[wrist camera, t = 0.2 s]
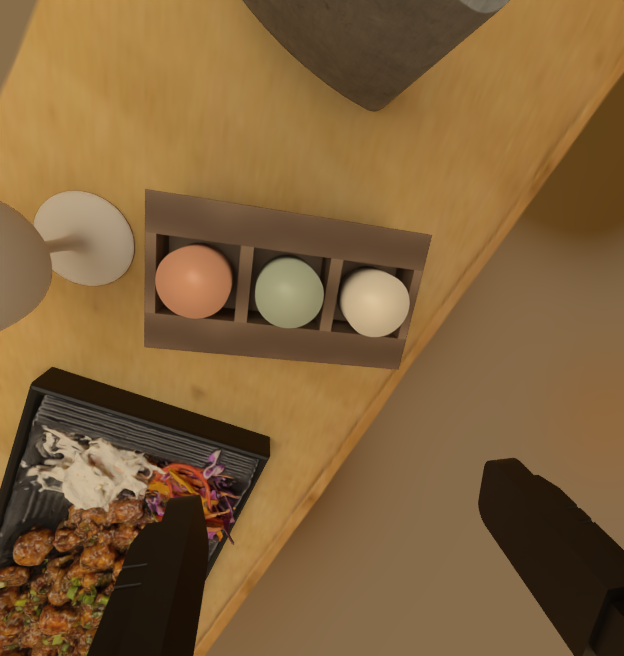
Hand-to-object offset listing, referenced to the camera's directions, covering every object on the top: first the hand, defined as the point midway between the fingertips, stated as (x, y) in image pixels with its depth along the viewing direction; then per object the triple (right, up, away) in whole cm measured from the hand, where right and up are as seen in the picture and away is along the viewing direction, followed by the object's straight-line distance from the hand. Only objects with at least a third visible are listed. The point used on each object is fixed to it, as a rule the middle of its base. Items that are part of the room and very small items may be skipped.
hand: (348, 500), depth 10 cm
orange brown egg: (-9, +9, +17) cm, 21 cm away
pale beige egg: (+3, +8, +19) cm, 21 cm away
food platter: (-27, -23, +36) cm, 51 cm away
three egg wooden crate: (-4, +11, +26) cm, 29 cm away
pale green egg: (-3, +8, +18) cm, 20 cm away
